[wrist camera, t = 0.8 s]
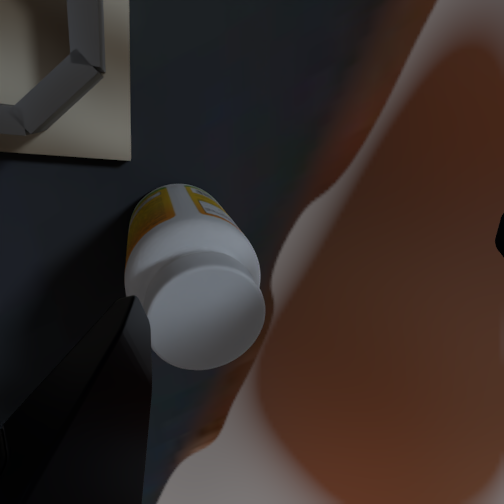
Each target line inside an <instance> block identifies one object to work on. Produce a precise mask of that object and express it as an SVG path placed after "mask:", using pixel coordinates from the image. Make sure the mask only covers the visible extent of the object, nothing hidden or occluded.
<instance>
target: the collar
mask: <svg viewBox="0 0 504 504" xmlns="http://www.w3.org/2000/svg"><path fill="white" fill-rule="evenodd" d="M0 152H13V153H27V154H41V155H55V156H69V157H83V158H97V159H111V160H125V161H131V109H130V30H129V0H0Z"/></svg>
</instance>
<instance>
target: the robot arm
mask: <svg viewBox="0 0 504 504" xmlns="http://www.w3.org/2000/svg"><path fill="white" fill-rule="evenodd" d="M495 244H496V247H497V249H498V251H499V252H500V253H501V254H502V255H503V257H504V214H503V215H502V217H501V220H500V224H499V228H498V231H497V235H496V238H495ZM151 396H152V360H151V328H150V323H149V319H148V317H147V315H146V313H145V311H144V309H143V306H142V304H141V302H140V300H139V298H138V297H137V296H135V295H132V296H127V297H123V298H119V299H118V300H117V301H116V302H115V303H114V304H113V305H112V306H111V307H110V308H109V309H108V310H107V311H106V313H105V314H104V315H103V316H102V317H101V318H100V319H99V320H98V321H97V322H96V324H95V325H94V326H93V327H92V328H91V329H90V330H89V331H88V332H87V333H86V334H85V336H84V337H83V338H82V339H81V340H80V341H79V342H78V343H77V344H76V345H75V347H74V348H73V349H72V350H71V351H70V352H69V353H68V354H67V355H66V356H65V357H64V359H63V360H62V361H61V362H60V363H59V364H58V365H57V366H56V367H55V368H54V370H53V371H52V372H51V373H50V374H49V375H48V376H47V377H46V378H45V379H44V380H43V382H42V383H41V384H40V385H39V386H38V387H37V388H36V389H35V390H34V391H33V393H32V394H31V395H30V396H29V397H28V398H27V399H26V400H25V401H24V402H23V403H22V405H21V406H20V407H19V408H18V409H17V410H16V411H15V412H14V413H13V414H12V416H11V417H10V418H9V419H8V420H7V421H6V422H5V423H4V424H3V426H2V428H3V429H0V504H142V494H143V483H144V472H145V461H146V451H147V440H148V429H149V418H150V407H151Z"/></svg>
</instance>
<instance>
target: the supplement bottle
mask: <svg viewBox="0 0 504 504" xmlns="http://www.w3.org/2000/svg"><path fill="white" fill-rule="evenodd" d="M124 282H125V292H126V297H127V296H132V295H135V296H137V297H138V298H139V300H140V302H141V304H142V306H143V309H144V311H145V313H146V315H147V317H148V319H149V323H150V328H151V347H152V349H153V350H154V352H155V353H156V354H157V355H158V356H159V357H160V358H161V359H163V360H164V361H166V362H167V363H169V364H171V365H173V366H176V367H179V368H183V369H189V370H206V369H212V368H216V367H219V366H222V365H225V364H227V363H229V362H231V361H233V360H235V359H236V358H238V357H239V356H241V355H242V354H243V353H244V352H245V351H246V350H248V349H249V348H250V346H251V345H252V344H253V343H254V342H255V340H256V338H257V337H258V335H259V333H260V331H261V329H262V327H263V323H264V319H265V302H264V298H263V295H262V293H261V290H260V289H259V286H260V266H259V262H258V258H257V256H256V253H255V251H254V249H253V247H252V245H251V244H250V242H249V241H248V239H247V238H246V236H245V235H244V234H243V233H242V231H241V230H240V229H239V228H238V227H237V225H236V224H235V223H234V222H233V220H232V219H231V218H230V217H229V216H228V214H227V213H226V212H225V211H224V209H223V208H222V207H221V206H220V205H219V203H218V202H217V201H216V200H215V199H214V198H213V197H212V196H211V195H209V194H208V193H207V192H205V191H203V190H202V189H200V188H197V187H195V186H191V185H187V184H170V185H165V186H162V187H159V188H157V189H155V190H153V191H151V192H150V193H148V194H147V195H146V196H145V197H144V198H143V199H142V200H141V201H140V202H139V203H138V204H137V206H136V207H135V209H134V211H133V213H132V216H131V219H130V223H129V229H128V242H127V253H126V264H125V277H124Z"/></svg>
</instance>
